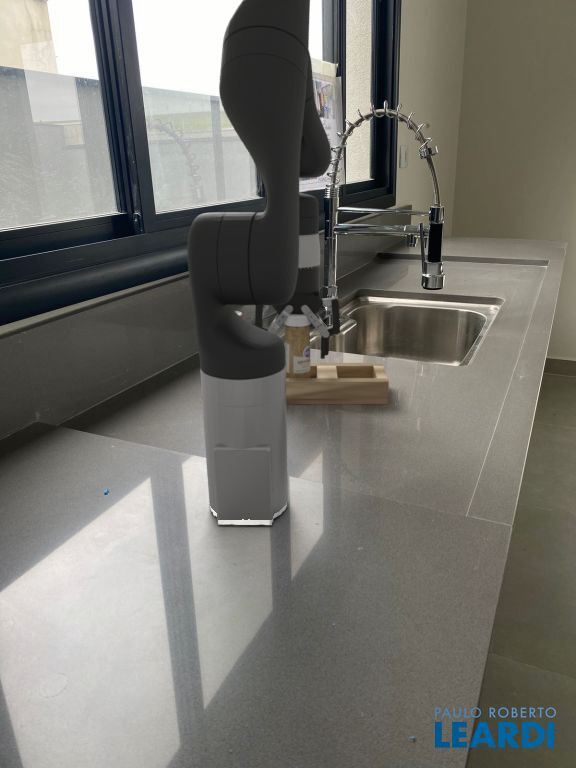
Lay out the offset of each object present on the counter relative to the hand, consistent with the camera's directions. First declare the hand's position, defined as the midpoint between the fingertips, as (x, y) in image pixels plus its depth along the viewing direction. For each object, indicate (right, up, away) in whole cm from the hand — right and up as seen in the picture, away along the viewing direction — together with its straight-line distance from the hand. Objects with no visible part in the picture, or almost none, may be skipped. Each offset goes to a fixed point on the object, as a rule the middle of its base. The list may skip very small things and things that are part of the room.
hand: (297, 357), depth 103 cm
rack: (+5, -6, +2) cm, 8 cm away
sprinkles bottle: (0, -5, +2) cm, 6 cm away
